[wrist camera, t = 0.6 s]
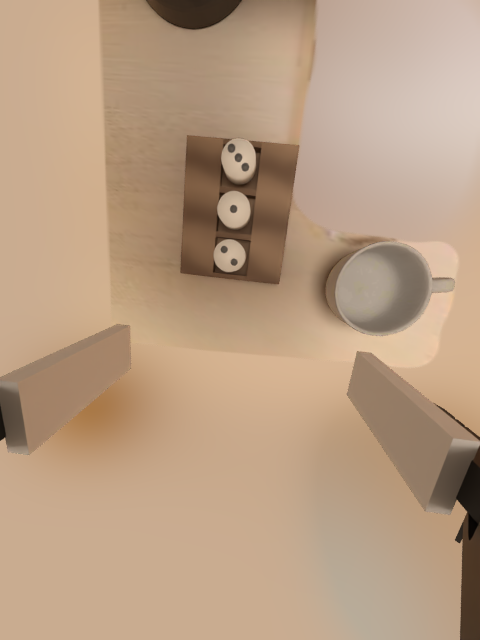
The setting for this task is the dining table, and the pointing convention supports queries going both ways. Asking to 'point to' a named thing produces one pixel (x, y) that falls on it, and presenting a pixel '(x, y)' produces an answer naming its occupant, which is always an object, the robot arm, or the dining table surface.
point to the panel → (265, 205)
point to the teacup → (382, 288)
